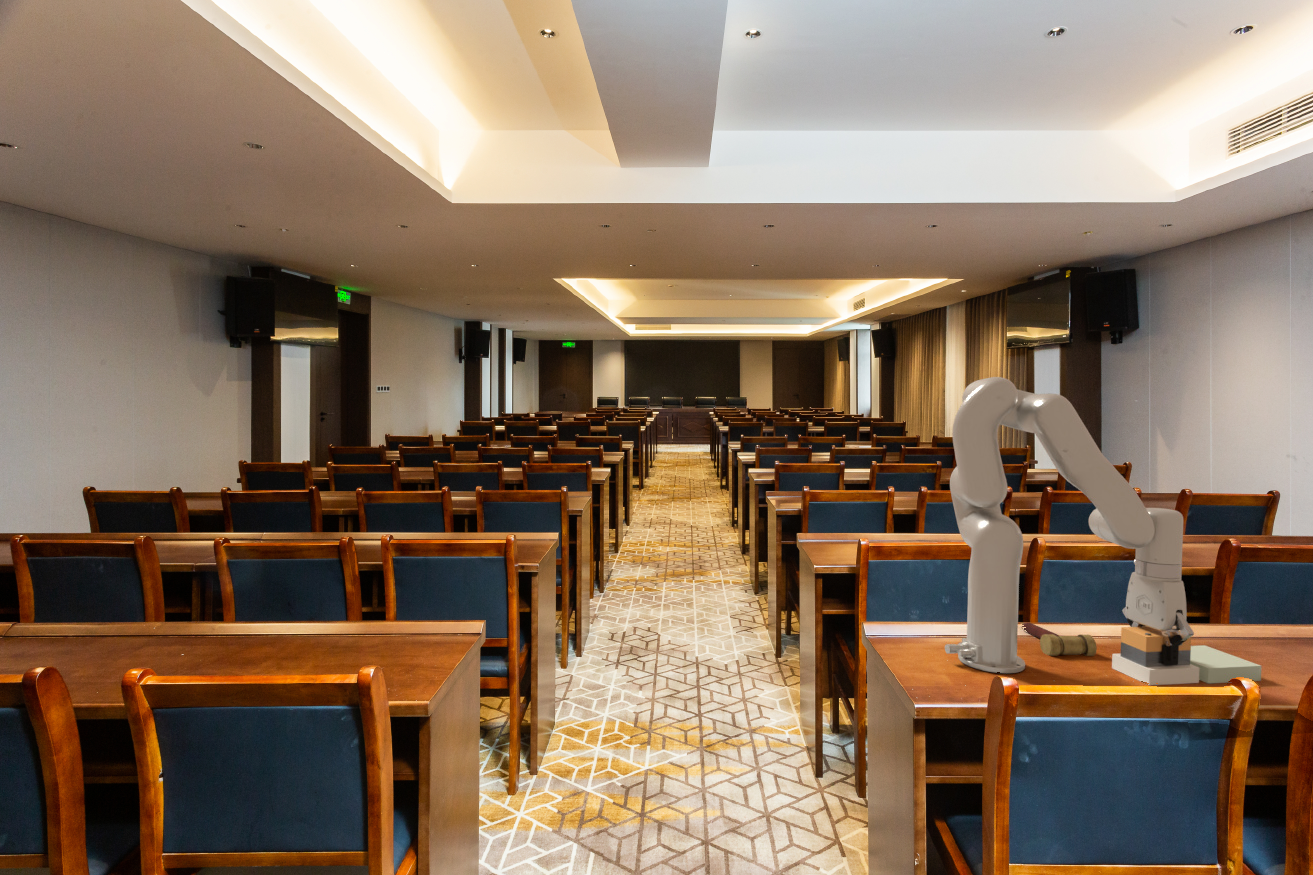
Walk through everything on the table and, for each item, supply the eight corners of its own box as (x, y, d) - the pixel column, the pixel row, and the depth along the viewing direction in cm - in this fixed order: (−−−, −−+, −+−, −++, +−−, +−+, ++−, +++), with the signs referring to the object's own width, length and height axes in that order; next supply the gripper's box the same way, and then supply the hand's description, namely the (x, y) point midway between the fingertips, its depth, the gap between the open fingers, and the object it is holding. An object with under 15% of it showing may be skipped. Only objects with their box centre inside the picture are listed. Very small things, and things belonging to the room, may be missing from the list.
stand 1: (1149, 685, 132) (1149, 669, 132) (1111, 667, 141) (1112, 653, 141) (1198, 682, 133) (1199, 667, 133) (1158, 665, 142) (1159, 651, 142)
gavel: (1001, 615, 168) (1041, 615, 168) (1001, 633, 168) (1041, 633, 168) (1051, 637, 147) (1097, 637, 147) (1051, 658, 147) (1097, 658, 147)
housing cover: (1145, 651, 133) (1146, 635, 133) (1120, 641, 139) (1121, 626, 139) (1190, 649, 134) (1191, 634, 134) (1164, 639, 140) (1164, 624, 140)
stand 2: (1208, 683, 133) (1208, 668, 133) (1154, 661, 145) (1155, 647, 145) (1260, 680, 135) (1261, 665, 135) (1204, 658, 147) (1204, 645, 146)
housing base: (1145, 666, 133) (1145, 651, 133) (1120, 656, 139) (1120, 641, 139) (1190, 664, 135) (1190, 649, 134) (1163, 654, 141) (1164, 639, 140)
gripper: (1107, 561, 144) (1104, 644, 145) (1180, 580, 127) (1176, 675, 128) (1138, 560, 145) (1135, 643, 146) (1215, 579, 128) (1211, 673, 129)
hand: (1154, 657), depth 137 cm, fingers closed on housing base, housing cover, 6 cm apart
